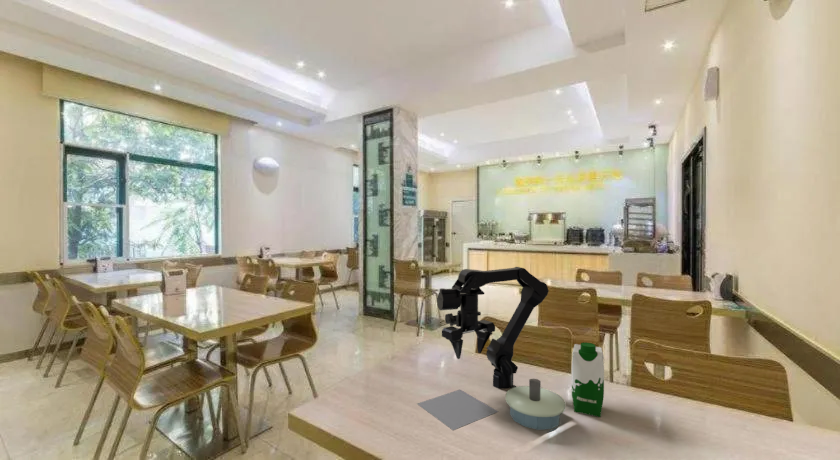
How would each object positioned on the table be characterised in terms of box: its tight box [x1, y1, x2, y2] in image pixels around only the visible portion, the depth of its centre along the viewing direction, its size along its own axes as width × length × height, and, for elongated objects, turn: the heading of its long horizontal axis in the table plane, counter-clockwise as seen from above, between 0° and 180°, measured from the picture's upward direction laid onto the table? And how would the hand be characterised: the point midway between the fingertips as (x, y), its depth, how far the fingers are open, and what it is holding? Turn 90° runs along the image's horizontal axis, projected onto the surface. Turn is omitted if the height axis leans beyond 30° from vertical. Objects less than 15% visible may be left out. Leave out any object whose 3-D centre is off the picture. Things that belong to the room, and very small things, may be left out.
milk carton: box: [571, 341, 605, 418], centre depth 109 cm, size 9×9×20 cm
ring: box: [509, 406, 561, 433], centre depth 103 cm, size 13×13×5 cm
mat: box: [416, 389, 499, 431], centre depth 107 cm, size 17×17×1 cm
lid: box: [505, 378, 566, 417], centre depth 103 cm, size 16×16×6 cm
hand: (469, 355), depth 119 cm, fingers open, 9 cm apart
